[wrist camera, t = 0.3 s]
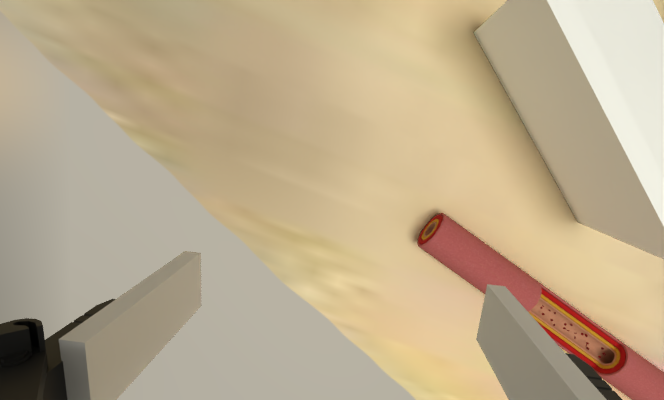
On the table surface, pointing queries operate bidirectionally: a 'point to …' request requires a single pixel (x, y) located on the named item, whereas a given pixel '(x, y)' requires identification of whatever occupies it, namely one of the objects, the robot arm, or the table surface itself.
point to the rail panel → (590, 104)
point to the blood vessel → (543, 308)
